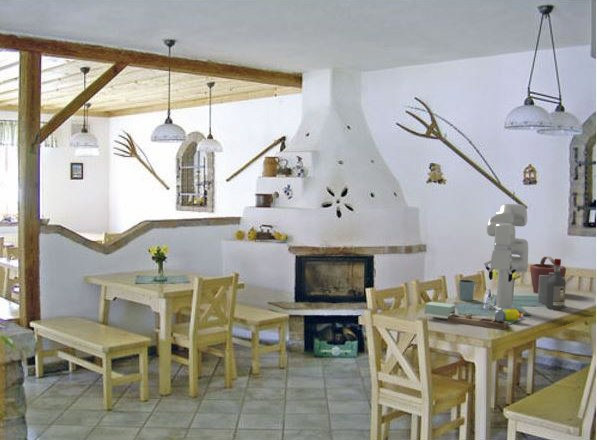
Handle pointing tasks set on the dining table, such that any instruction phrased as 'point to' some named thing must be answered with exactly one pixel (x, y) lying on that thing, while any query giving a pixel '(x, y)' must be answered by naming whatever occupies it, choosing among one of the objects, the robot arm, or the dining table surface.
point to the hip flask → (543, 287)
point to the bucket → (543, 271)
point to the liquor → (556, 289)
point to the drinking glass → (466, 290)
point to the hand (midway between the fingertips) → (500, 280)
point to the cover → (439, 308)
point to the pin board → (477, 321)
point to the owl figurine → (511, 314)
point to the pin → (499, 317)
